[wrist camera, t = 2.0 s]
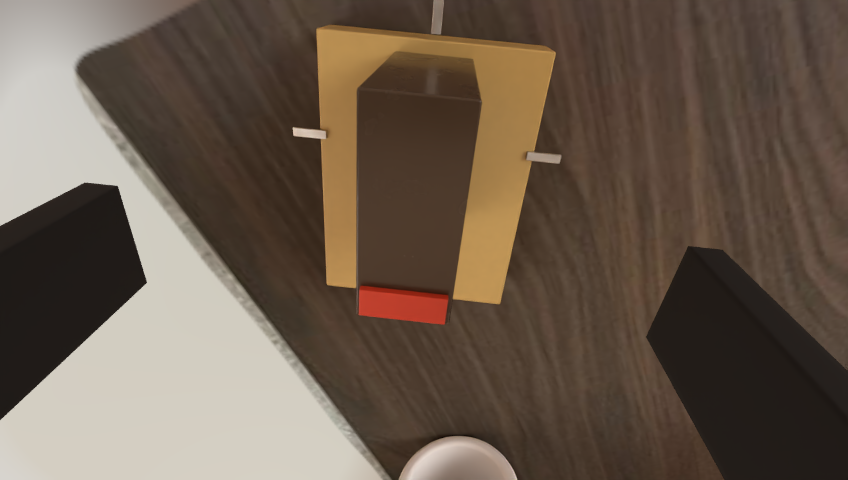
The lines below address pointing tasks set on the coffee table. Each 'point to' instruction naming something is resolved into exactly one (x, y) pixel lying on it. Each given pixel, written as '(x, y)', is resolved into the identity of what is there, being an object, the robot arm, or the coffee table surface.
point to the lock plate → (494, 153)
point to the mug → (458, 461)
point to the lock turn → (413, 183)
